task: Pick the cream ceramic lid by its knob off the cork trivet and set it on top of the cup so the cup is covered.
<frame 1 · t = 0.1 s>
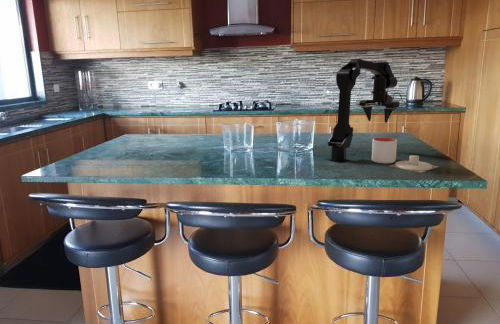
hand: (377, 121, 189), 15 cm above the counter, fingers open, 9 cm apart
trivet: (413, 167, 160), on the counter
cup: (383, 162, 171), on the counter
lid: (413, 166, 160), point 1 cm above the counter, touching trivet
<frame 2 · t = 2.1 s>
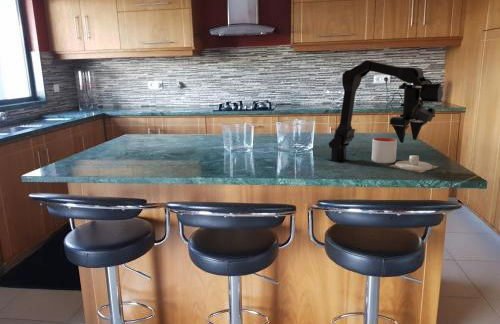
hand: (408, 141, 153), 12 cm above the counter, fingers open, 9 cm apart
nothing on the counter moved.
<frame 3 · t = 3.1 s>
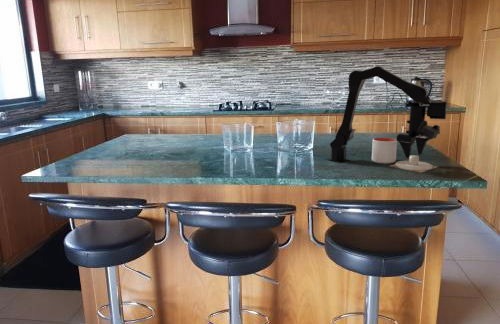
hand: (413, 156, 159), 5 cm above the counter, fingers open, 9 cm apart
nothing on the counter moved.
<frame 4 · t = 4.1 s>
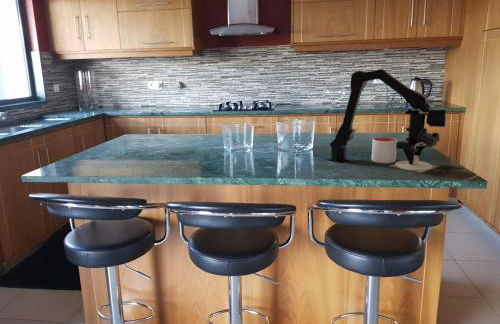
hand: (413, 163, 160), 2 cm above the counter, fingers closed on lid, 4 cm apart
lid: (413, 166, 160), point 1 cm above the counter, touching gripper, trivet
everything else where it was.
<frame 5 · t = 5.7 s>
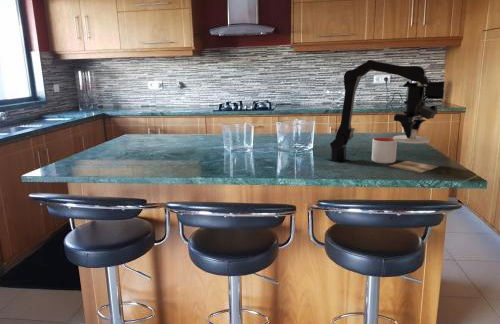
hand: (411, 137, 159), 12 cm above the counter, fingers closed on lid, 4 cm apart
lid: (411, 140, 159), point 11 cm above the counter, touching gripper
everything else where it was.
when the fingers open (12 cm above the counter, at t = 7.3 s): lid drops 1 cm, resting on cup.
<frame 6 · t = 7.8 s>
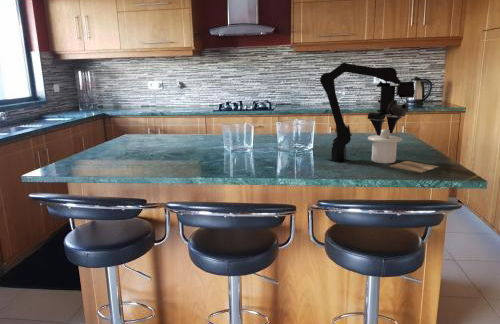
hand: (385, 134, 168), 12 cm above the counter, fingers open, 9 cm apart
cup: (383, 162, 171), on the counter, touching lid
lid: (384, 139, 169), point 10 cm above the counter, touching cup
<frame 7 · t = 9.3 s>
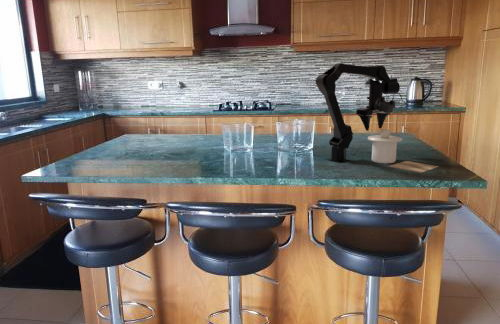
hand: (373, 129, 177), 13 cm above the counter, fingers open, 9 cm apart
nothing on the counter moved.
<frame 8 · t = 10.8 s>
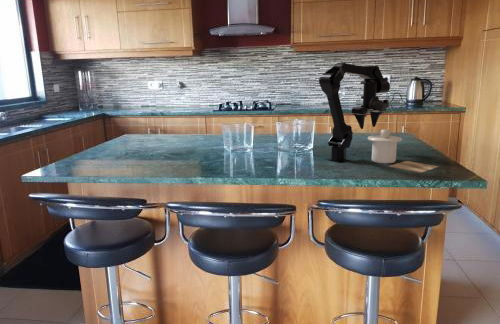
hand: (367, 127, 182), 13 cm above the counter, fingers open, 9 cm apart
nothing on the counter moved.
at the end: lid 0.1 cm from the cup (horizontally); lid point 9.9 cm above the counter; the gripper is holding nothing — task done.
